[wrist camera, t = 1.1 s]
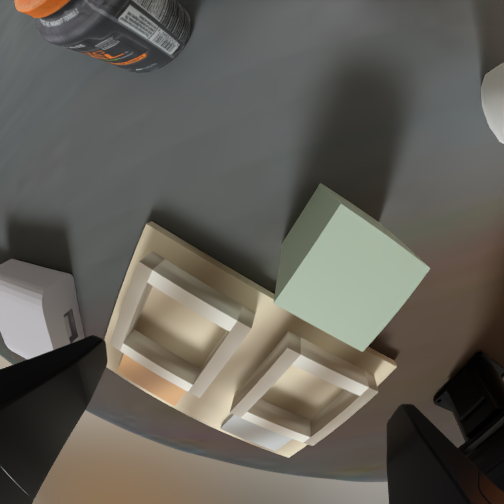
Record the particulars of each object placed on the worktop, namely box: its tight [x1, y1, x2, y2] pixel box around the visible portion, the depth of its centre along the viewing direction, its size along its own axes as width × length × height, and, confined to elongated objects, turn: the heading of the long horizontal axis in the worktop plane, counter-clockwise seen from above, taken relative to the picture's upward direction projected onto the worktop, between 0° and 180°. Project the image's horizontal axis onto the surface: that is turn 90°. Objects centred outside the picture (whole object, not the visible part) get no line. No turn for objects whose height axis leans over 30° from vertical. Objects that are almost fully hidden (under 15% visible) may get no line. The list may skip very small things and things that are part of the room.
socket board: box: [105, 221, 397, 458], centre depth 21 cm, size 21×15×3 cm
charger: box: [0, 259, 85, 359], centre depth 22 cm, size 5×9×15 cm
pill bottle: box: [15, 0, 191, 73], centre depth 10 cm, size 6×6×11 cm
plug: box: [274, 183, 430, 352], centre depth 15 cm, size 4×4×8 cm
